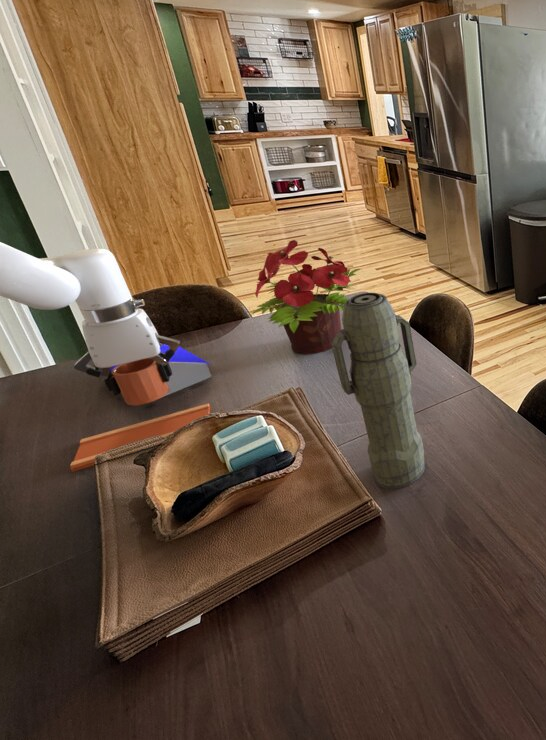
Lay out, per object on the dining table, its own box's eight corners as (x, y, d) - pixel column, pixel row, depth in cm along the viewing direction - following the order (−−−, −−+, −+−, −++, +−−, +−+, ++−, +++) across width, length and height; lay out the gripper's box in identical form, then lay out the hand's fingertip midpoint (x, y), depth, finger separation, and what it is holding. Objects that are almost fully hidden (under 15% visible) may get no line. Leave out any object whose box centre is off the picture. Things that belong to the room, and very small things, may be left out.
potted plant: (274, 331, 137) (244, 231, 126) (375, 315, 147) (356, 222, 136) (250, 385, 112) (210, 266, 101) (374, 362, 122) (351, 252, 111)
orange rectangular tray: (71, 472, 87) (69, 467, 86) (84, 442, 94) (81, 437, 94) (209, 430, 97) (207, 425, 97) (210, 406, 105) (208, 402, 104)
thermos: (442, 463, 89) (415, 293, 76) (383, 503, 80) (341, 319, 67) (415, 443, 94) (385, 280, 80) (357, 478, 85) (312, 303, 72)
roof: (105, 377, 115) (93, 350, 112) (175, 352, 126) (165, 327, 123) (143, 405, 105) (130, 377, 102) (215, 375, 116) (205, 349, 113)
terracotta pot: (123, 409, 98) (108, 379, 95) (128, 393, 103) (114, 363, 100) (168, 397, 101) (155, 367, 99) (171, 382, 107) (159, 353, 104)
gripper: (168, 294, 102) (195, 364, 109) (52, 315, 92) (90, 391, 99) (165, 306, 96) (194, 379, 103) (41, 330, 87) (82, 409, 94)
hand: (143, 384), depth 101 cm, fingers closed on terracotta pot, 7 cm apart
